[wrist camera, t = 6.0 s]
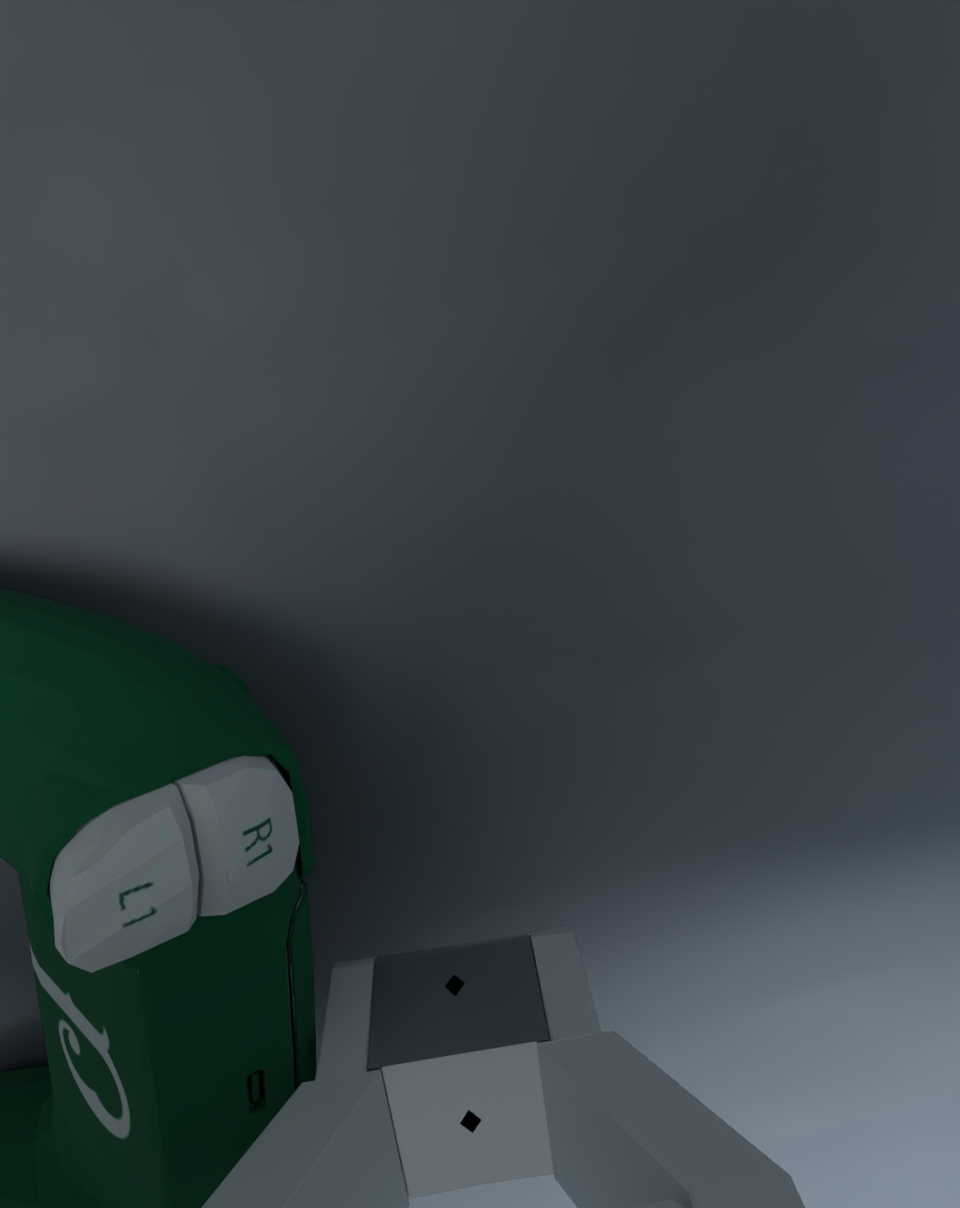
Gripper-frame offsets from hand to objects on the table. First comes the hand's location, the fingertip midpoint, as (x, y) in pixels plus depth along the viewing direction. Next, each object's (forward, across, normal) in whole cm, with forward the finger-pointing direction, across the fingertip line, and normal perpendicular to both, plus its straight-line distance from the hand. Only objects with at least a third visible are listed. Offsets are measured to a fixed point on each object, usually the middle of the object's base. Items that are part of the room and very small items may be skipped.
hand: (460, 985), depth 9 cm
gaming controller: (+2, +4, -1) cm, 5 cm away
